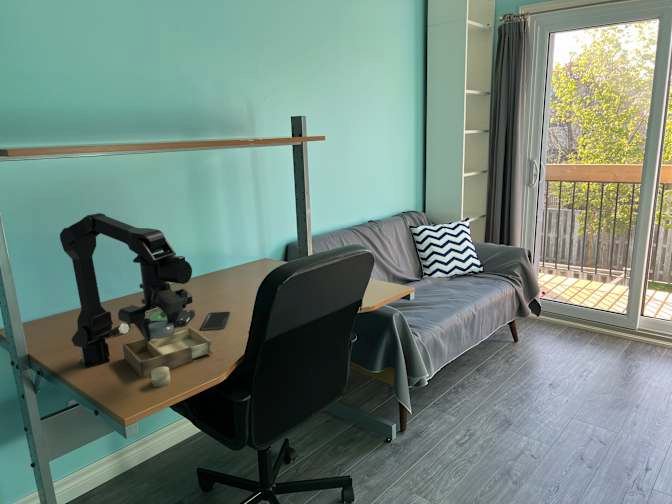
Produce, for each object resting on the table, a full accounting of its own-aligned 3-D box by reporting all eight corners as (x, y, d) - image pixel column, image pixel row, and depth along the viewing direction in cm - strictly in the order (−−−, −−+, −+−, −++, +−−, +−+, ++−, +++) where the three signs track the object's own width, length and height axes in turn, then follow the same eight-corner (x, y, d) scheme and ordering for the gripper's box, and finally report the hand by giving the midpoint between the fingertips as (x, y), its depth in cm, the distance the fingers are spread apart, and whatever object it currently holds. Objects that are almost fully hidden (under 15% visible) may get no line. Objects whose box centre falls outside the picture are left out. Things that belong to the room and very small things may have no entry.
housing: (142, 378, 133) (140, 362, 132) (124, 358, 145) (122, 344, 144) (192, 362, 141) (191, 347, 140) (171, 345, 153) (170, 331, 152)
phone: (199, 328, 164) (208, 312, 179) (200, 331, 164) (209, 315, 179) (224, 327, 164) (231, 311, 179) (224, 330, 165) (231, 314, 179)
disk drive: (195, 317, 179) (154, 317, 179) (194, 309, 178) (154, 309, 179) (186, 328, 169) (142, 328, 169) (185, 320, 168) (142, 320, 169)
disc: (156, 340, 126) (155, 333, 125) (140, 335, 130) (139, 327, 129) (179, 331, 131) (178, 324, 131) (163, 326, 135) (162, 319, 135)
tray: (165, 368, 137) (164, 354, 136) (147, 350, 148) (145, 338, 148) (215, 352, 146) (214, 340, 145) (194, 337, 157) (193, 325, 156)
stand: (156, 388, 127) (154, 376, 126) (150, 382, 130) (148, 370, 130) (173, 382, 130) (171, 370, 129) (166, 376, 133) (165, 364, 132)
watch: (117, 338, 161) (115, 327, 160) (106, 336, 162) (104, 326, 162) (135, 329, 168) (133, 319, 167) (124, 327, 169) (122, 317, 168)
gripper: (140, 295, 115) (147, 357, 119) (203, 275, 130) (208, 331, 134) (113, 287, 122) (121, 346, 125) (176, 269, 136) (182, 323, 140)
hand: (160, 336), depth 131 cm, fingers closed on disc, 7 cm apart
